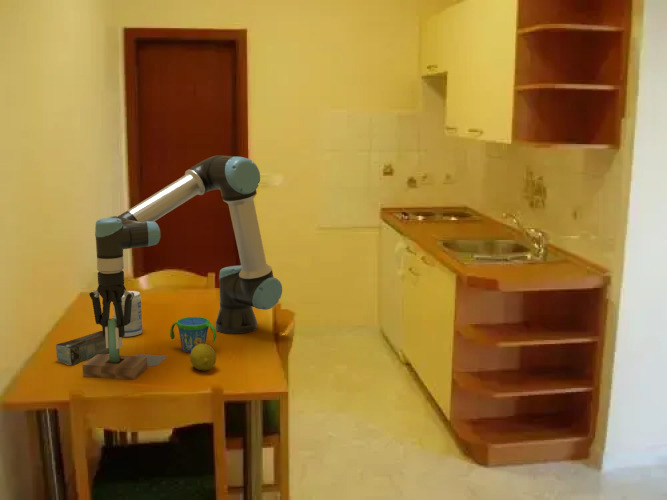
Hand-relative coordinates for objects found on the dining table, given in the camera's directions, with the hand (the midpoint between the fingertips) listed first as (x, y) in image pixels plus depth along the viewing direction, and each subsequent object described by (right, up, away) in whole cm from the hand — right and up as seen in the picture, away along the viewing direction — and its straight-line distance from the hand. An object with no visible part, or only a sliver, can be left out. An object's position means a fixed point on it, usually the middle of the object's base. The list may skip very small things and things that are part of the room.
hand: (114, 346), depth 224 cm
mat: (+7, -6, +13) cm, 16 cm away
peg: (0, -4, +1) cm, 4 cm away
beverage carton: (-13, -6, +17) cm, 23 cm away
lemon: (+26, -8, +6) cm, 28 cm away
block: (0, -8, +2) cm, 8 cm away
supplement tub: (-7, -1, +41) cm, 42 cm away
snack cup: (+20, -4, +24) cm, 31 cm away
